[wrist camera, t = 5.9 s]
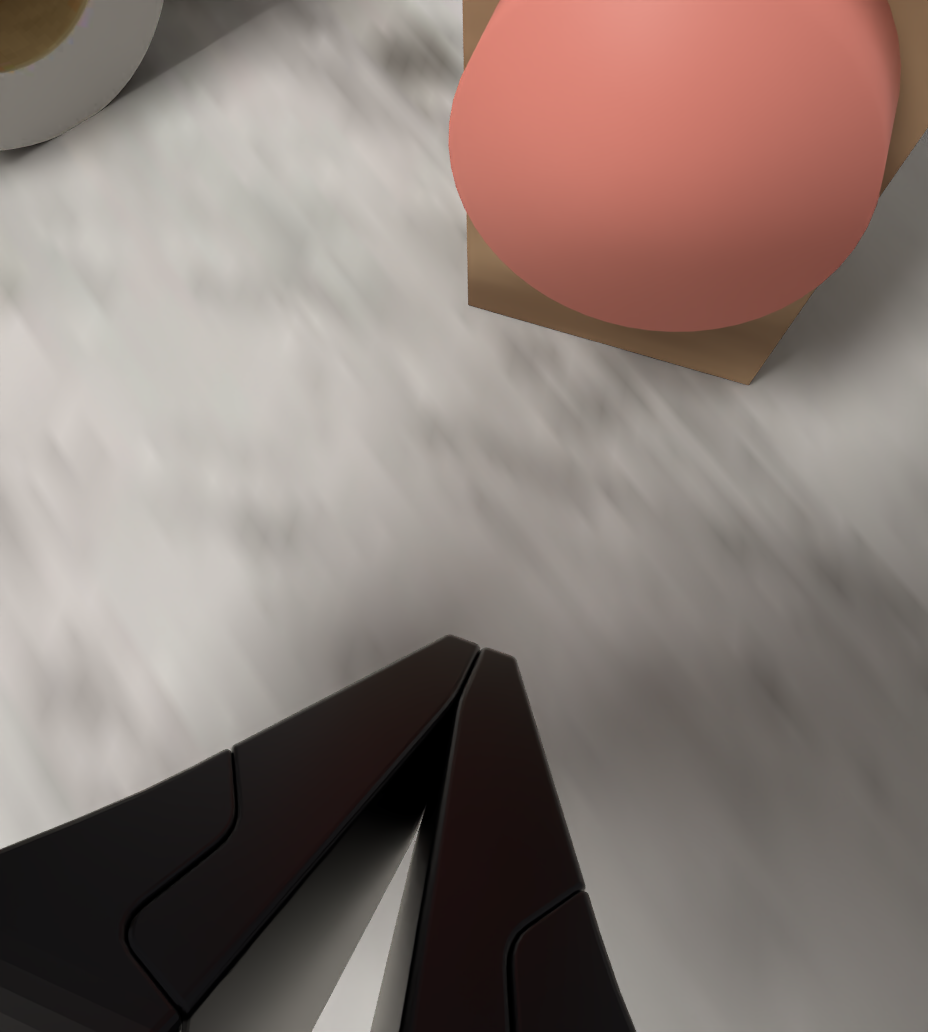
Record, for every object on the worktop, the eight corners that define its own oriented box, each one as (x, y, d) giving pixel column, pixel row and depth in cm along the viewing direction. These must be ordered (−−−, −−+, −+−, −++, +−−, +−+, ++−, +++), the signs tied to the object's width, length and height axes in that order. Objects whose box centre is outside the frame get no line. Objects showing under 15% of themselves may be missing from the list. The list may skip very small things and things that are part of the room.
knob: (769, 367, 12) (1009, 30, 7) (455, 279, 13) (438, -88, 8) (838, 79, 15) (1058, -343, 9) (569, 20, 16) (621, -401, 10)
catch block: (746, 392, 16) (1192, -242, 6) (465, 311, 17) (449, -355, 7) (795, 197, 18) (1192, -522, 8) (541, 135, 19) (613, -581, 9)
